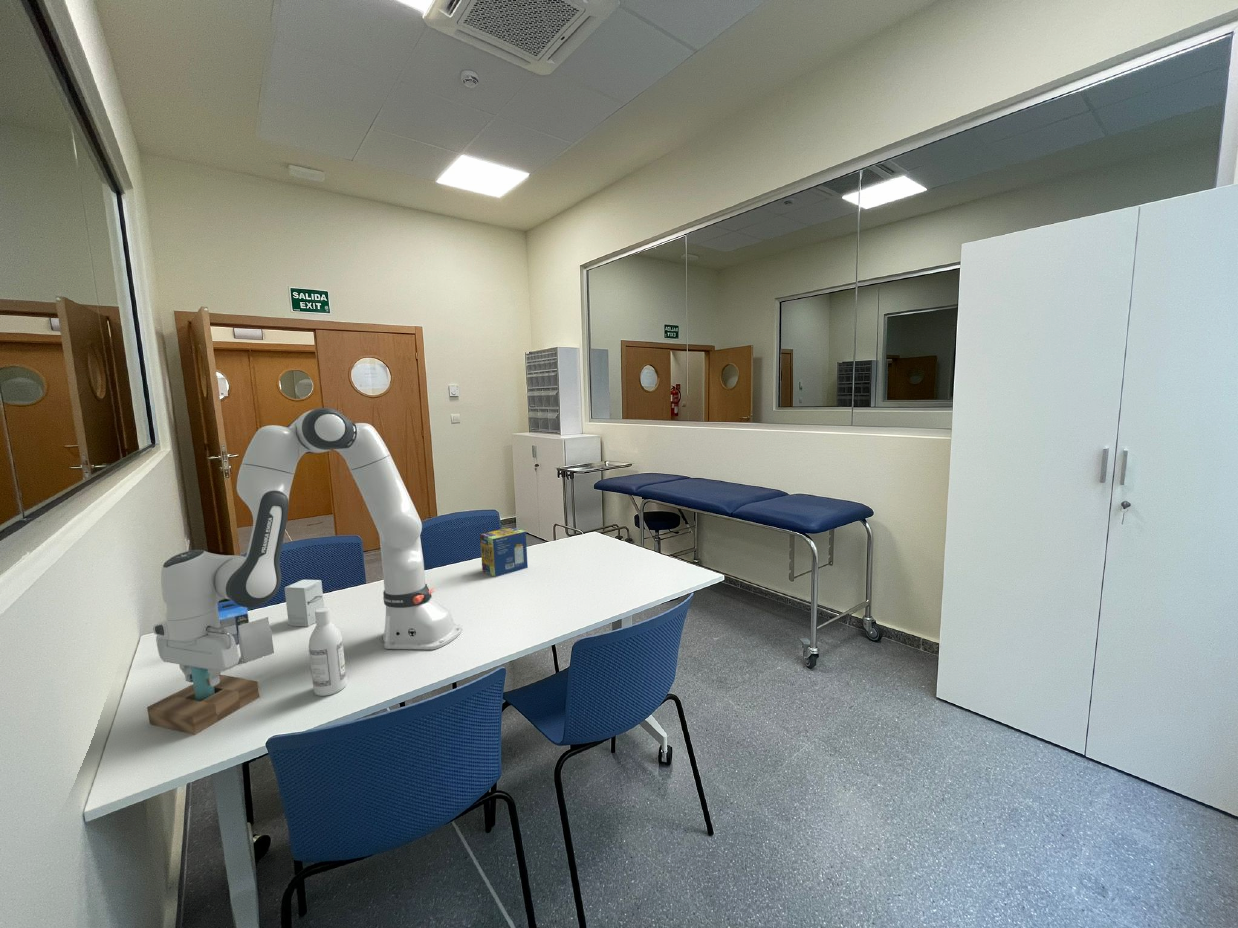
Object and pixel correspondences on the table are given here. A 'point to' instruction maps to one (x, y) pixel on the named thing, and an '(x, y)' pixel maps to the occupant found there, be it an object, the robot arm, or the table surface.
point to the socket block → (202, 705)
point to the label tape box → (232, 618)
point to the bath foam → (326, 656)
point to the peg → (201, 683)
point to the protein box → (503, 551)
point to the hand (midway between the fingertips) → (203, 682)
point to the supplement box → (303, 602)
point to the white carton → (255, 640)
